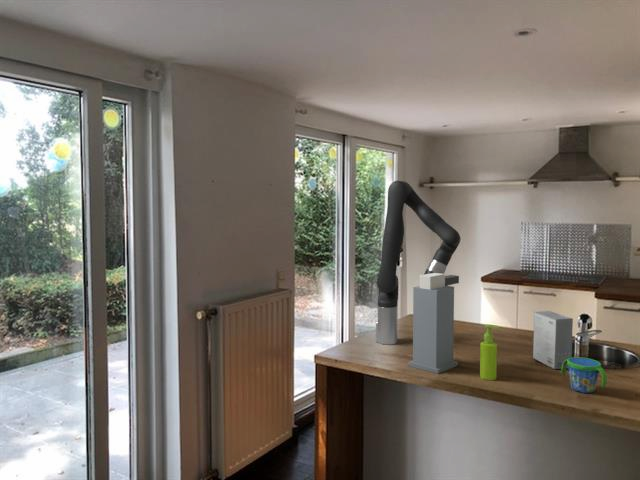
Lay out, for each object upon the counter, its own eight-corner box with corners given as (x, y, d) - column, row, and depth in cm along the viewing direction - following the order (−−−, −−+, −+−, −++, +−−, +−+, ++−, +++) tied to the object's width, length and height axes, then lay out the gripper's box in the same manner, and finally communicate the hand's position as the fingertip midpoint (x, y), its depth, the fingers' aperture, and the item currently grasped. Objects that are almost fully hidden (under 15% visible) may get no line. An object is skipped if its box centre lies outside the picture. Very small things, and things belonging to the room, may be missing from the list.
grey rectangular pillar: (437, 373, 200) (438, 291, 197) (408, 365, 210) (408, 287, 208) (457, 365, 210) (458, 286, 207) (428, 358, 220) (429, 282, 217)
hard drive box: (572, 368, 205) (573, 318, 203) (554, 370, 203) (555, 319, 202) (548, 356, 220) (550, 310, 218) (532, 358, 219) (533, 311, 217)
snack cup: (613, 395, 177) (614, 365, 177) (592, 400, 173) (593, 370, 172) (574, 380, 192) (575, 353, 191) (553, 385, 187) (554, 357, 186)
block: (430, 289, 201) (430, 276, 201) (419, 288, 205) (419, 275, 205) (459, 283, 216) (460, 271, 215) (449, 281, 219) (449, 270, 219)
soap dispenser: (497, 381, 191) (498, 328, 189) (478, 378, 195) (478, 325, 193) (500, 377, 196) (501, 324, 194) (482, 373, 200) (483, 322, 198)
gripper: (424, 267, 235) (408, 299, 235) (429, 269, 220) (412, 303, 221) (439, 274, 234) (423, 306, 235) (445, 276, 220) (428, 311, 220)
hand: (418, 305), depth 228 cm, fingers open, 8 cm apart
